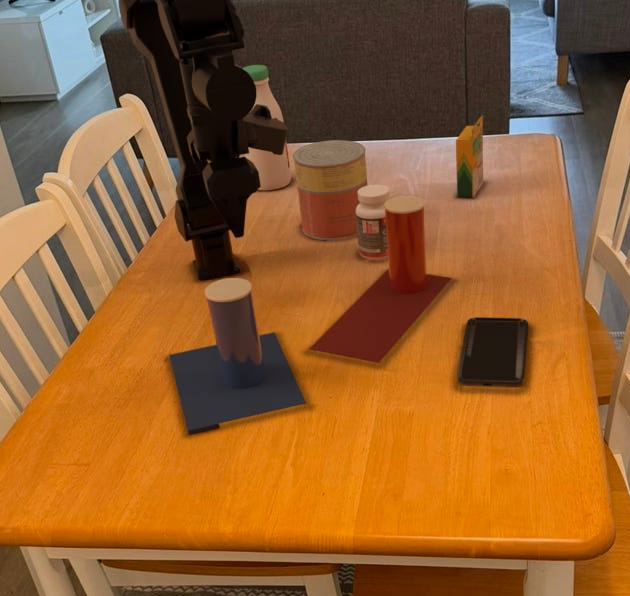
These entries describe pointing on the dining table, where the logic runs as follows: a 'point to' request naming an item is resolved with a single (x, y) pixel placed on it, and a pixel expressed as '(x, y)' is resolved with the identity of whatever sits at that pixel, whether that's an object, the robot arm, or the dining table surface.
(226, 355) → the blue canister
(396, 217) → the red canister
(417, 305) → the red mat
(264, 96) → the milk bottle
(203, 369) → the blue mat
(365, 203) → the pill bottle
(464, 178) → the crayon box
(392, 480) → the dining table surface
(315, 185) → the canned food
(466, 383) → the phone
